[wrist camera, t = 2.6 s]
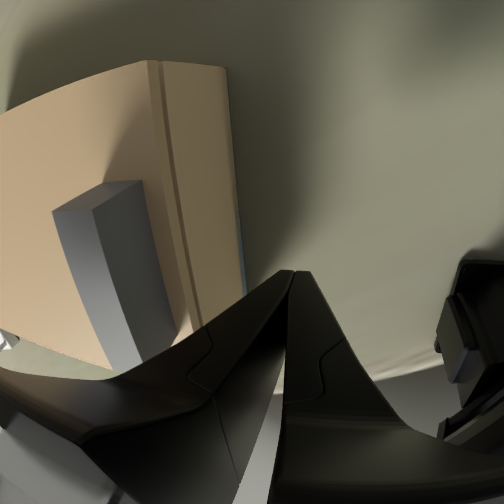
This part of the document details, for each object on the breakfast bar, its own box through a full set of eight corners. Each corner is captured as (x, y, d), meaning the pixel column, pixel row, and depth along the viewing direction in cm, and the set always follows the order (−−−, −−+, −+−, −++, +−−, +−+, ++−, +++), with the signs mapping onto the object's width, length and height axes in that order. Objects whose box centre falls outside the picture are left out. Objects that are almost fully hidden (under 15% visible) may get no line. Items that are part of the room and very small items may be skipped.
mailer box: (225, 67, 13) (162, 60, 8) (248, 302, 19) (215, 379, 14) (3, 128, 18) (-58, 152, 12) (45, 277, 24) (-1, 317, 19)
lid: (157, 60, 8) (89, 58, 5) (213, 383, 14) (190, 436, 11) (-62, 153, 12) (-96, 170, 10) (-3, 320, 18) (-27, 343, 16)
